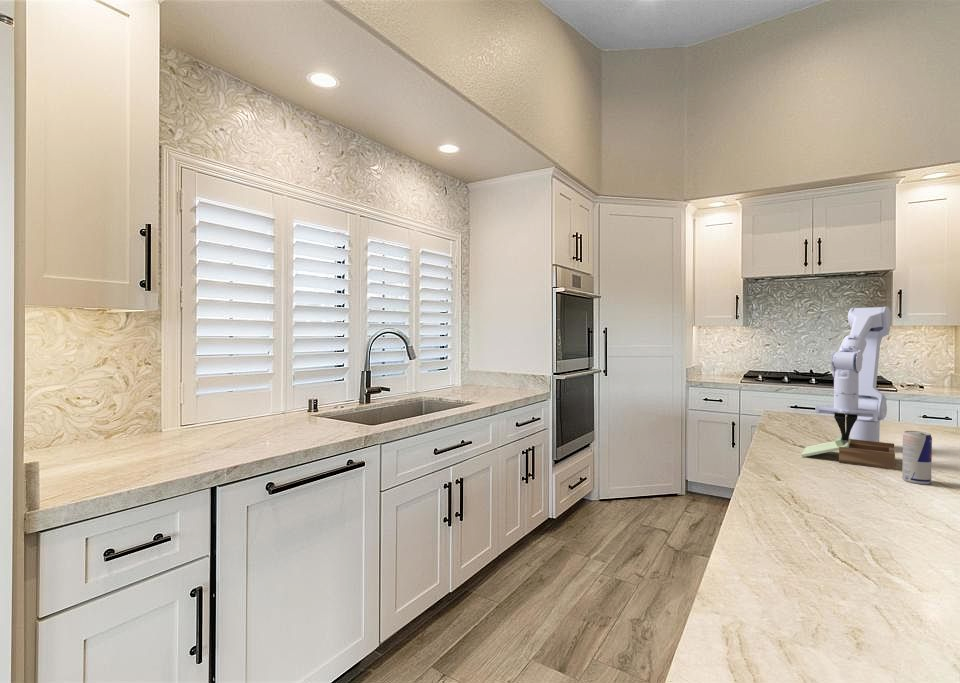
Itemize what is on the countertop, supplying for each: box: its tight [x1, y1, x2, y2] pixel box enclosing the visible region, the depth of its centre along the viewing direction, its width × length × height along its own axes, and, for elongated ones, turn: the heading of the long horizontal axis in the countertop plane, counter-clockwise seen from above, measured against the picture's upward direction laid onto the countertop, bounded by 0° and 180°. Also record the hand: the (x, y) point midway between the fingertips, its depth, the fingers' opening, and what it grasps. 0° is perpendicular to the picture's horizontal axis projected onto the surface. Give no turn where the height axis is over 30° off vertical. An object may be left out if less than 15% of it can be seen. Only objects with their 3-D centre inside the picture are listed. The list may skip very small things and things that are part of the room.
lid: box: [800, 434, 850, 458], centre depth 147 cm, size 12×12×2 cm
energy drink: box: [901, 430, 933, 485], centre depth 122 cm, size 5×5×12 cm
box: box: [838, 439, 896, 471], centre depth 141 cm, size 14×12×4 cm
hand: (845, 440), depth 144 cm, fingers closed
